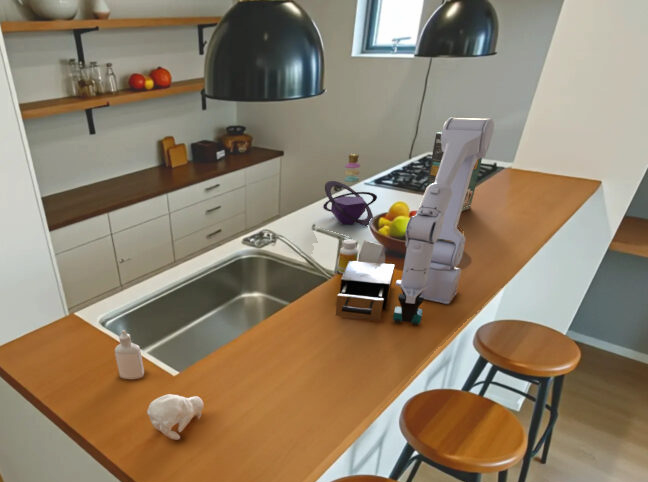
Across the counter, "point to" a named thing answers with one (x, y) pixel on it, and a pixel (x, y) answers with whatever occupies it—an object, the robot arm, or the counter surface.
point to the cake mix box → (435, 166)
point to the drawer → (360, 301)
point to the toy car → (415, 320)
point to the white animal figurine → (174, 413)
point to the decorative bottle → (349, 198)
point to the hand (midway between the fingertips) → (407, 316)
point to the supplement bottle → (347, 254)
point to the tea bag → (372, 253)
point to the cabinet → (369, 276)
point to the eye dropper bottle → (128, 358)
